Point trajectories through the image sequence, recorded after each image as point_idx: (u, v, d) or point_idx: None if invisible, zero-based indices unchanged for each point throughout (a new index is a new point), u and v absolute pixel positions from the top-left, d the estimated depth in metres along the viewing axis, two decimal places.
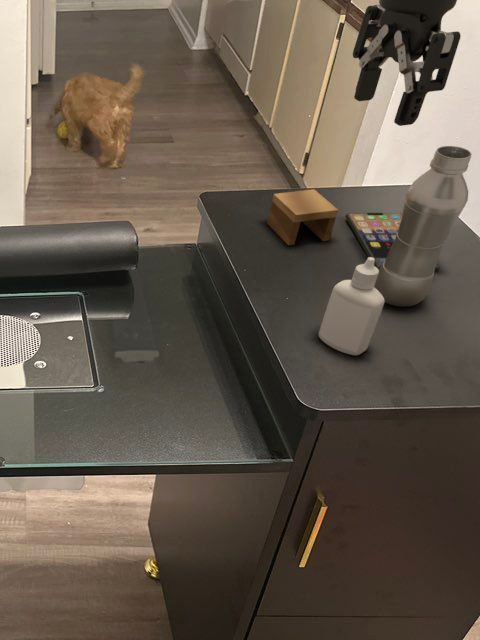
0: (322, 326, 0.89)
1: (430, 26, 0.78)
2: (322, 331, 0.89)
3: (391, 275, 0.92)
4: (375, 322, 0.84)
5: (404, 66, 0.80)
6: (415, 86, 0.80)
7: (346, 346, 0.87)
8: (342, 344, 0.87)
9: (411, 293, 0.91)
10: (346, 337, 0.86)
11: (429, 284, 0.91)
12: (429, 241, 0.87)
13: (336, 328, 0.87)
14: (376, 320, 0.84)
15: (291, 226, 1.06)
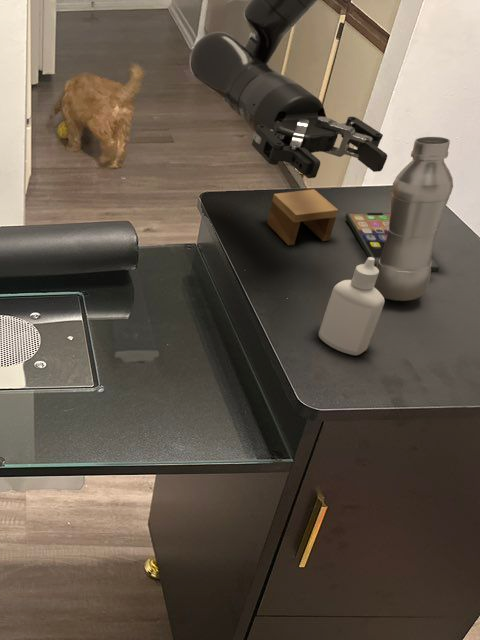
0: (322, 326, 0.89)
1: None
2: (322, 331, 0.89)
3: (387, 269, 0.92)
4: (375, 322, 0.84)
5: None
6: None
7: (346, 346, 0.87)
8: (342, 344, 0.87)
9: (409, 285, 0.91)
10: (346, 337, 0.86)
11: (427, 276, 0.91)
12: (420, 230, 0.88)
13: (336, 328, 0.87)
14: (376, 320, 0.84)
15: (291, 226, 1.06)
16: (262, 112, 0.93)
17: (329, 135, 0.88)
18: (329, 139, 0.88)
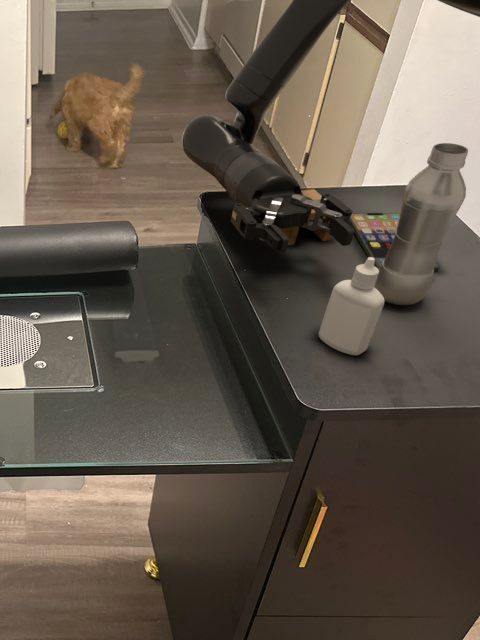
0: (322, 326, 0.89)
1: None
2: (322, 331, 0.89)
3: (390, 273, 0.92)
4: (375, 322, 0.84)
5: None
6: None
7: (346, 346, 0.87)
8: (342, 344, 0.87)
9: (410, 291, 0.91)
10: (346, 337, 0.86)
11: (429, 282, 0.91)
12: (428, 238, 0.87)
13: (336, 328, 0.87)
14: (376, 320, 0.84)
15: None
16: (242, 190, 1.01)
17: (301, 212, 0.95)
18: (302, 215, 0.96)
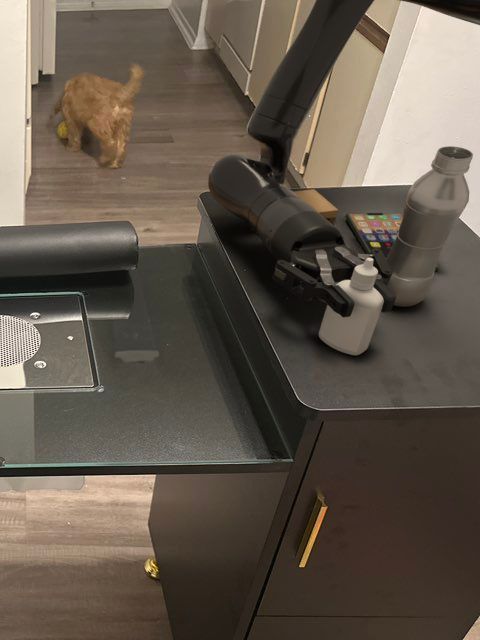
0: (322, 326, 0.89)
1: None
2: (322, 331, 0.89)
3: None
4: (375, 322, 0.84)
5: None
6: None
7: (346, 346, 0.87)
8: (342, 344, 0.87)
9: (410, 293, 0.91)
10: (346, 338, 0.86)
11: (429, 284, 0.91)
12: (429, 241, 0.87)
13: (336, 328, 0.87)
14: (376, 320, 0.84)
15: None
16: (279, 240, 0.93)
17: (346, 267, 0.87)
18: (346, 271, 0.87)
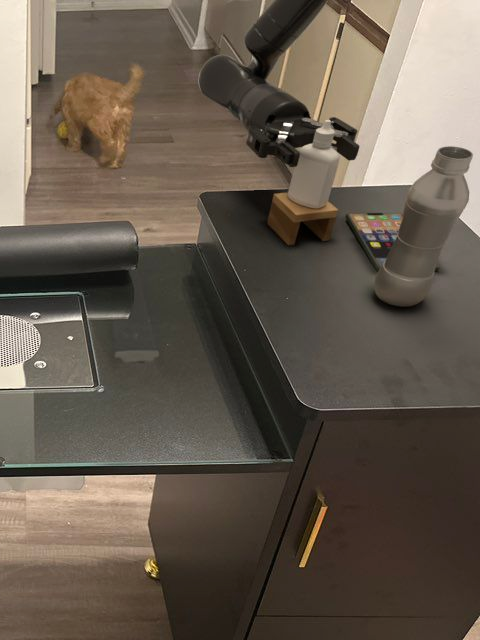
0: (290, 186, 1.07)
1: None
2: (290, 191, 1.07)
3: (390, 274, 0.92)
4: (332, 177, 1.02)
5: None
6: None
7: (309, 200, 1.05)
8: (306, 199, 1.05)
9: (409, 293, 0.91)
10: (309, 192, 1.04)
11: (428, 285, 0.91)
12: (428, 241, 0.87)
13: (301, 185, 1.05)
14: (333, 175, 1.02)
15: (291, 226, 1.06)
16: (256, 117, 1.11)
17: (311, 132, 1.05)
18: (311, 136, 1.05)
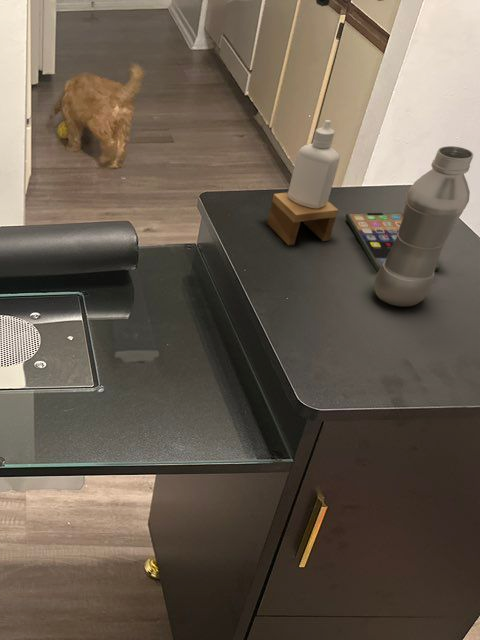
0: (290, 186, 1.07)
1: None
2: (290, 191, 1.07)
3: (390, 274, 0.92)
4: (332, 177, 1.02)
5: None
6: None
7: (309, 200, 1.05)
8: (306, 199, 1.05)
9: (409, 293, 0.91)
10: (309, 193, 1.04)
11: (428, 285, 0.91)
12: (428, 241, 0.87)
13: (301, 185, 1.05)
14: (333, 175, 1.02)
15: (291, 226, 1.06)
16: None
17: None
18: None
